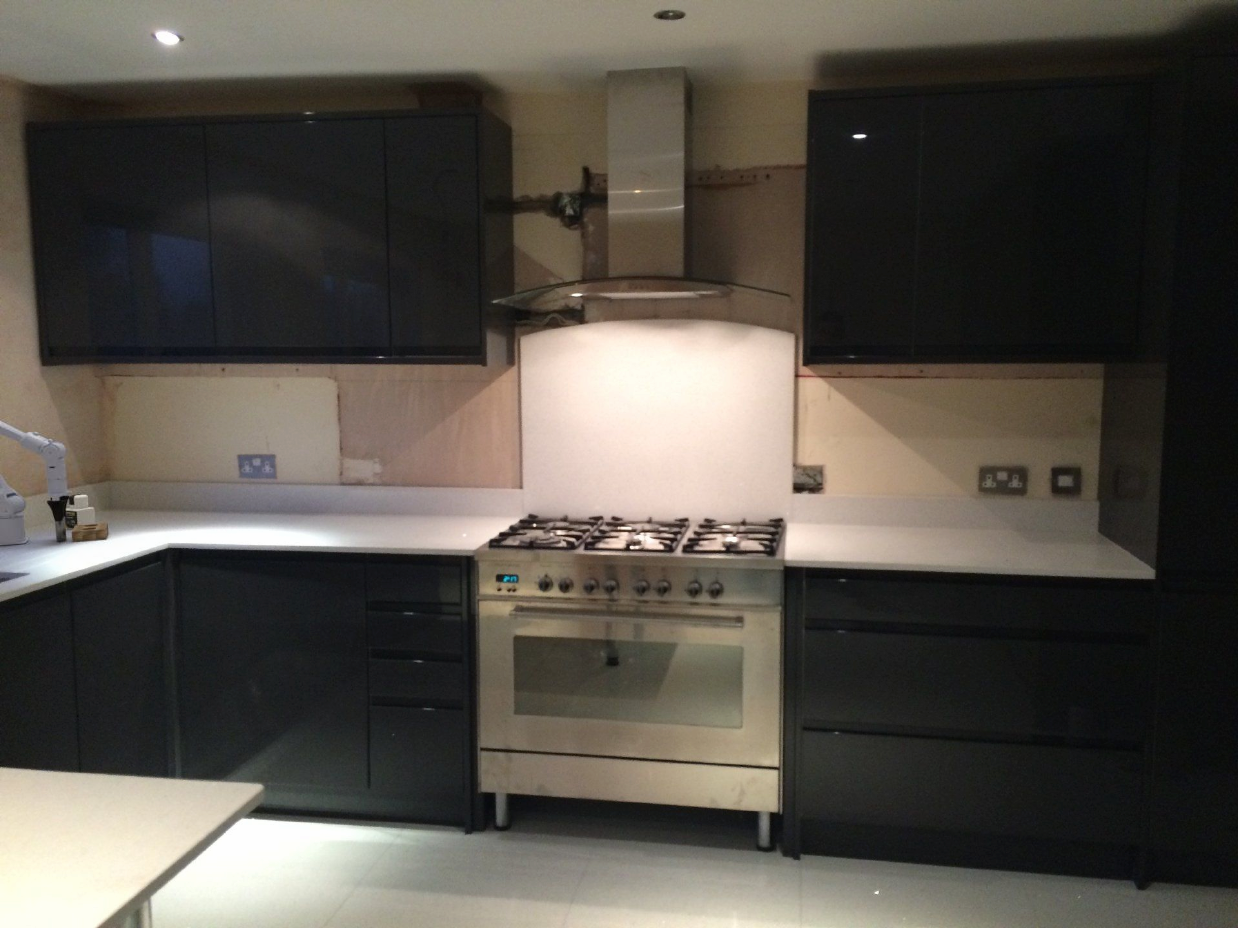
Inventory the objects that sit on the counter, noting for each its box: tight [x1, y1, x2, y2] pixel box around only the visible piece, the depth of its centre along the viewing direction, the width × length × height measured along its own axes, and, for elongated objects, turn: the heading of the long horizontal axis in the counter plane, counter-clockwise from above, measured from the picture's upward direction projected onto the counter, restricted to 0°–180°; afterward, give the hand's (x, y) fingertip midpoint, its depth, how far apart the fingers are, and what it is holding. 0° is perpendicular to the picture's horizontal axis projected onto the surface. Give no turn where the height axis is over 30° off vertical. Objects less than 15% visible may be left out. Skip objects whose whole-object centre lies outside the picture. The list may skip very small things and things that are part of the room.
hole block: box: [71, 522, 109, 543], centre depth 342 cm, size 10×14×4 cm
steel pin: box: [54, 517, 68, 543], centre depth 336 cm, size 3×3×8 cm
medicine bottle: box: [65, 493, 97, 530], centre depth 360 cm, size 7×7×12 cm
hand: (60, 519), depth 335 cm, fingers open, 7 cm apart
